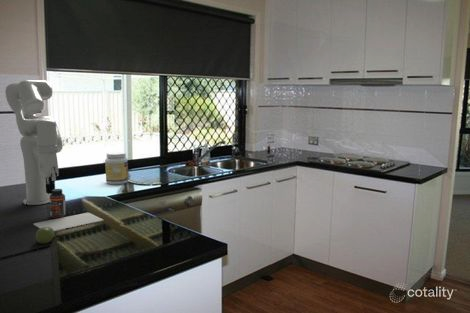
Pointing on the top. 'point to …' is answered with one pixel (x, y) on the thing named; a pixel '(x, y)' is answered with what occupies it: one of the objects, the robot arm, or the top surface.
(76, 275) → the top surface
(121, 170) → the supplement tub
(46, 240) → the pear
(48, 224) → the mat
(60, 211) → the supplement bottle
